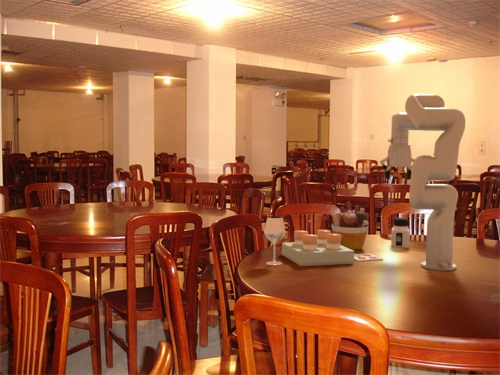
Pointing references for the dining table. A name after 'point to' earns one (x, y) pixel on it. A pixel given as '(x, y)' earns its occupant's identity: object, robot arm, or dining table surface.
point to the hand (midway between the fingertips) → (398, 179)
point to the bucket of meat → (351, 227)
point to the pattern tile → (366, 257)
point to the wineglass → (274, 234)
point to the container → (400, 233)
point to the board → (317, 255)
